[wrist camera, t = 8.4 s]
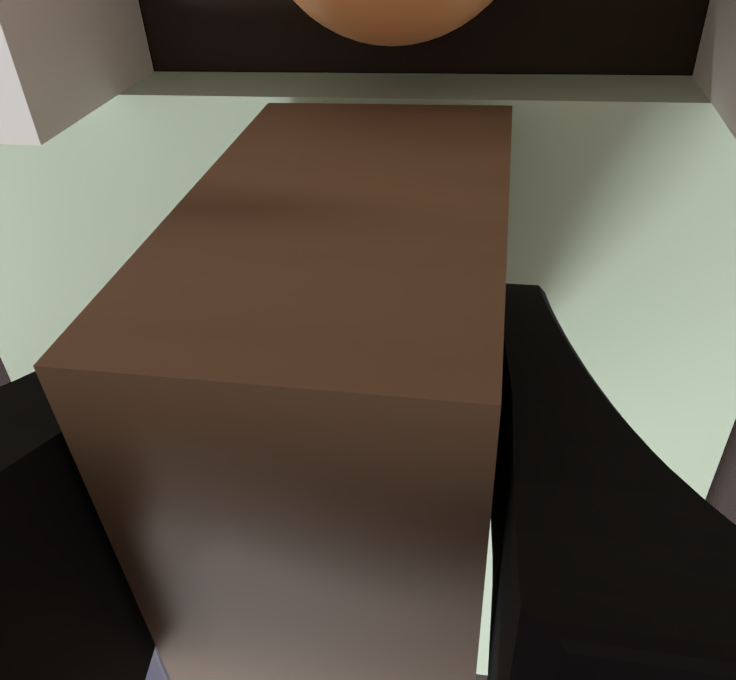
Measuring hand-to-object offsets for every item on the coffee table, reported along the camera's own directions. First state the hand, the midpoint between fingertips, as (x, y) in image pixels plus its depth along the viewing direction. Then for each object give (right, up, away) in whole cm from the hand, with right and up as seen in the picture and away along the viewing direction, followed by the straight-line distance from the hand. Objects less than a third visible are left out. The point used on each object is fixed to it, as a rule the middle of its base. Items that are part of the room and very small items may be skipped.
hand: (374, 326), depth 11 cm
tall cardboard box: (0, +1, +2) cm, 2 cm away
